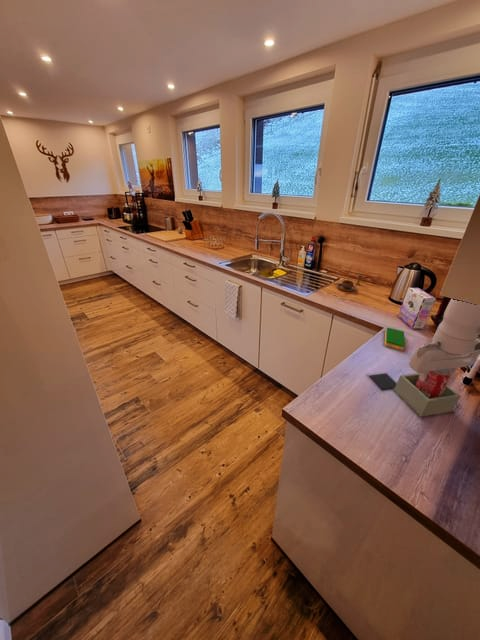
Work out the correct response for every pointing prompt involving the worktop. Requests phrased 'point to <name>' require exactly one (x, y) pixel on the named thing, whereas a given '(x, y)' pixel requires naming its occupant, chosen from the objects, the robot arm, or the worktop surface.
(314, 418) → the worktop surface
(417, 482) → the worktop surface
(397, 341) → the dish sponge
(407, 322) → the candy box
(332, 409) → the worktop surface
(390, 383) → the coaster
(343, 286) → the place setting
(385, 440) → the worktop surface
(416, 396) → the bin
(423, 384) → the soda can
